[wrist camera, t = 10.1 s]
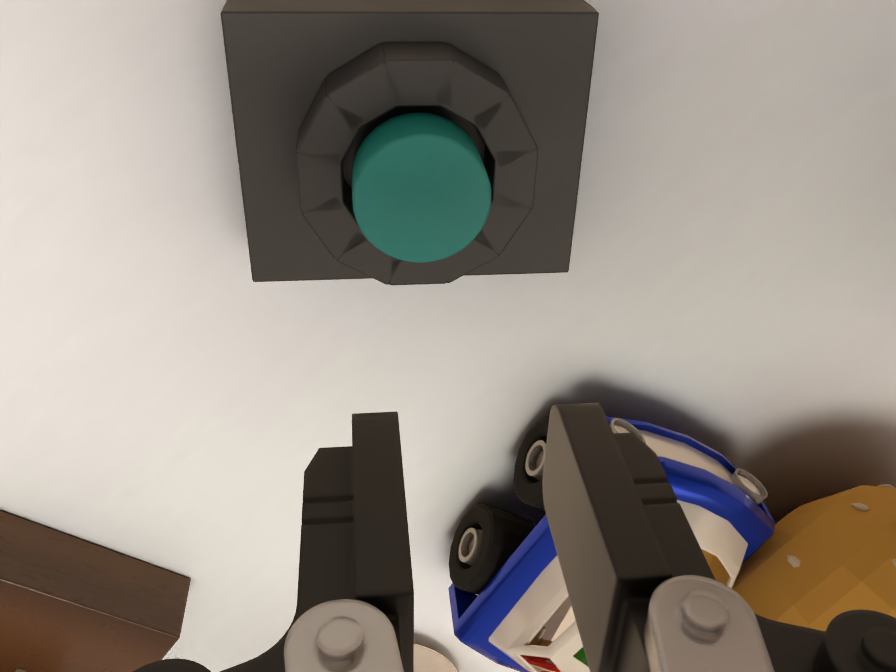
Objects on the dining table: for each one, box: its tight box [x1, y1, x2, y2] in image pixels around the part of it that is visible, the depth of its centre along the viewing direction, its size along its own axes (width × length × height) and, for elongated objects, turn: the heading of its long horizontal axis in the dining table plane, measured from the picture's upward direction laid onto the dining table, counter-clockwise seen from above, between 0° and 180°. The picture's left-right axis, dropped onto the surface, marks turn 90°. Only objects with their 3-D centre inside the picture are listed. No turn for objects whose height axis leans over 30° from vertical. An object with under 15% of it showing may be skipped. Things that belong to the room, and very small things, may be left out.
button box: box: [221, 0, 599, 285], centre depth 24 cm, size 10×8×4 cm
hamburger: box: [732, 484, 896, 631], centre depth 33 cm, size 14×14×10 cm
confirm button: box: [352, 113, 491, 263], centre depth 22 cm, size 4×4×2 cm
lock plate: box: [0, 511, 191, 672], centre depth 35 cm, size 13×9×3 cm
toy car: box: [449, 416, 775, 672], centre depth 32 cm, size 9×12×10 cm
